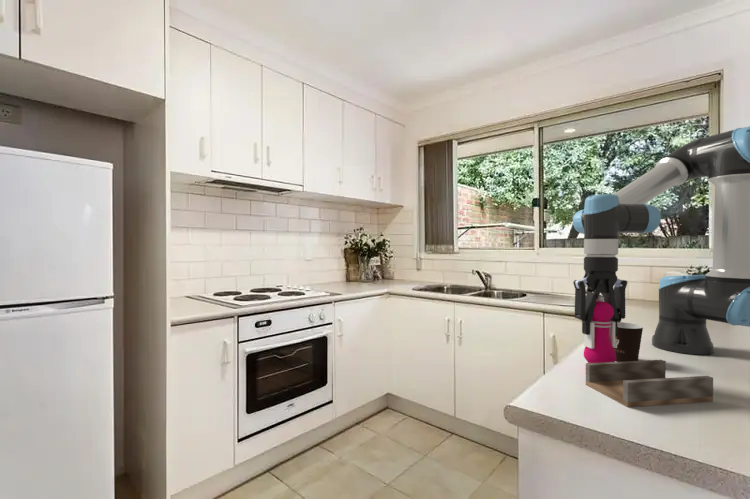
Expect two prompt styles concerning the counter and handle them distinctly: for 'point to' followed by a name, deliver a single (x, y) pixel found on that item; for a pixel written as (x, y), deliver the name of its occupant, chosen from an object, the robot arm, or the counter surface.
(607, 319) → the pepper mill
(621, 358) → the coffee mug
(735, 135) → the robot arm
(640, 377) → the rail track
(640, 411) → the counter surface
